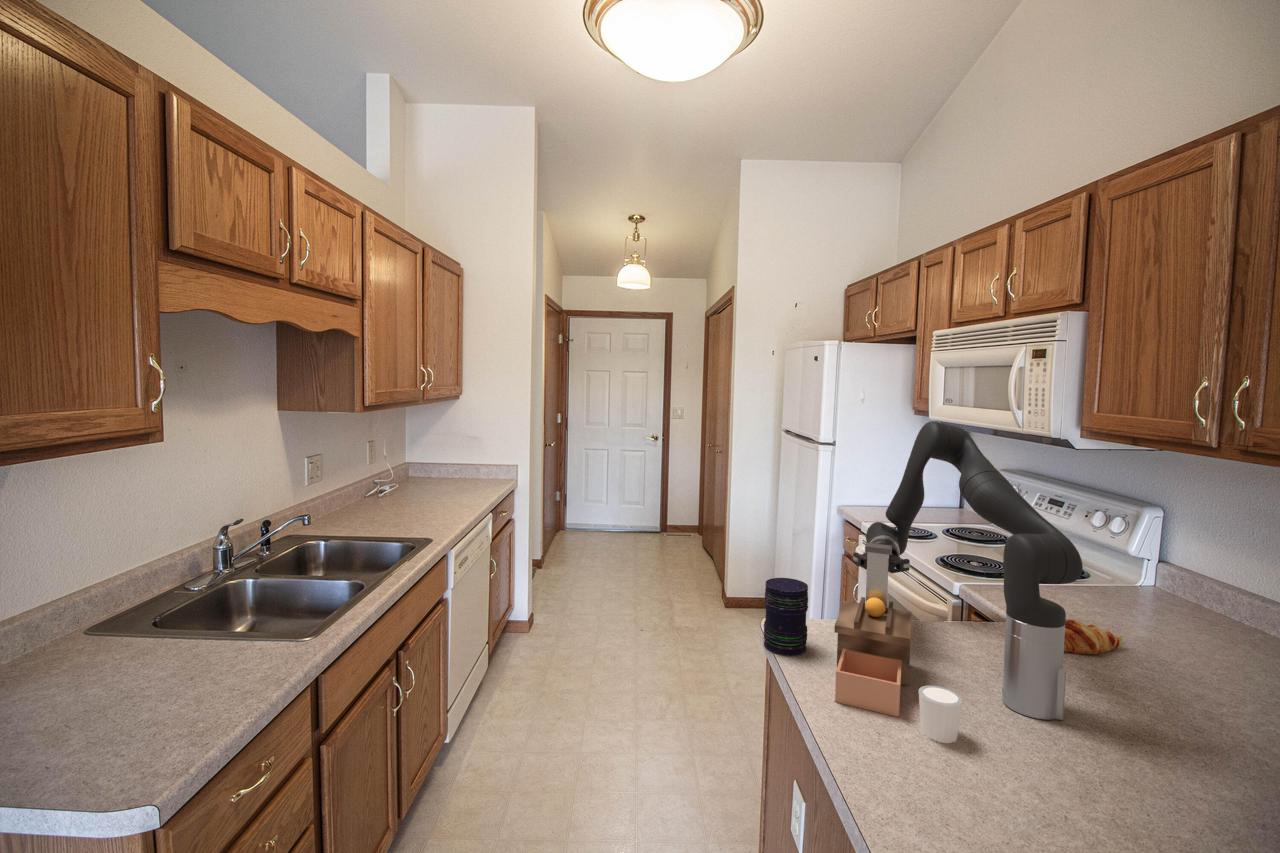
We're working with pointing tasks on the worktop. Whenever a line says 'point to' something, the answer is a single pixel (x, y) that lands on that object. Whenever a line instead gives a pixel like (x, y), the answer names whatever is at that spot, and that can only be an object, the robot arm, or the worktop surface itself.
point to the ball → (875, 607)
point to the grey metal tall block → (877, 571)
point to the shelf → (875, 633)
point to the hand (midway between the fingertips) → (878, 571)
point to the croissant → (1088, 638)
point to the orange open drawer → (869, 682)
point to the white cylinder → (940, 713)
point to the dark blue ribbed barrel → (785, 616)
